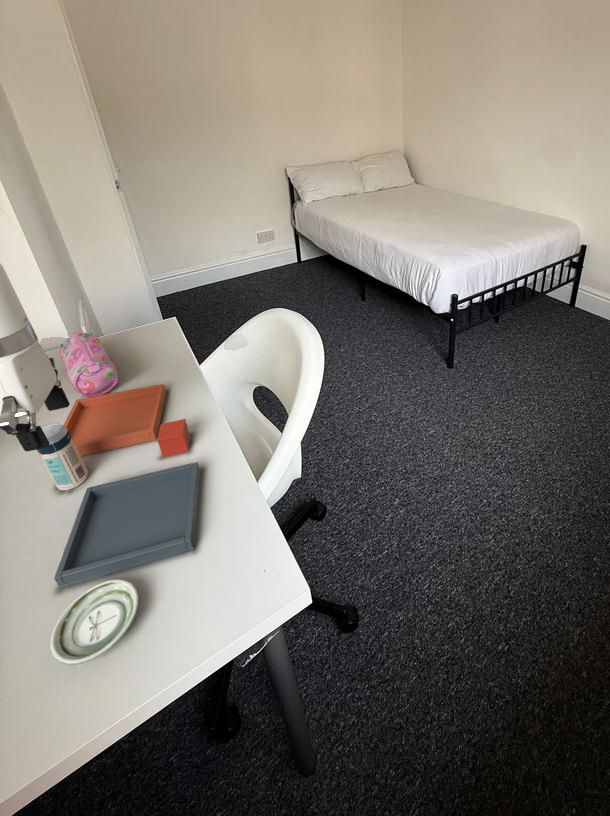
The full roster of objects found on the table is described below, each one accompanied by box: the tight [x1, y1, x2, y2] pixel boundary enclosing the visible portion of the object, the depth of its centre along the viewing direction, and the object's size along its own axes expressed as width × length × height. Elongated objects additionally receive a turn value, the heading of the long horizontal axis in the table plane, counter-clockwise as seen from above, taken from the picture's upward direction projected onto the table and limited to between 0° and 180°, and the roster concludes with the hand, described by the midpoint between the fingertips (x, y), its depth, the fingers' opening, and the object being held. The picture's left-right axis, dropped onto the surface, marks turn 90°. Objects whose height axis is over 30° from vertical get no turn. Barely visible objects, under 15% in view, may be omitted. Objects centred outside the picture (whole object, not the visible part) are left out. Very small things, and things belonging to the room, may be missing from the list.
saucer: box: [49, 578, 140, 666], centre depth 54 cm, size 10×10×2 cm
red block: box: [156, 418, 191, 458], centre depth 81 cm, size 4×4×4 cm
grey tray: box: [53, 461, 201, 590], centre depth 67 cm, size 18×16×3 cm
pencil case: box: [59, 330, 120, 398], centre depth 101 cm, size 21×9×9 cm, turn 42°
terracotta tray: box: [62, 383, 167, 457], centre depth 88 cm, size 18×16×3 cm
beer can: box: [36, 422, 89, 491], centre depth 72 cm, size 5×5×12 cm
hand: (49, 426), depth 69 cm, fingers open, 9 cm apart
